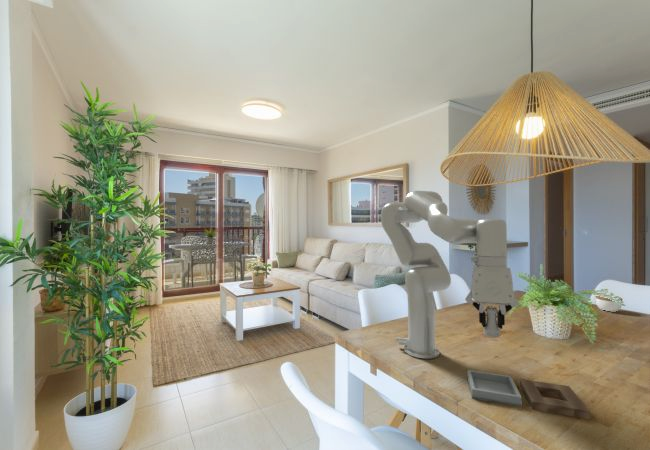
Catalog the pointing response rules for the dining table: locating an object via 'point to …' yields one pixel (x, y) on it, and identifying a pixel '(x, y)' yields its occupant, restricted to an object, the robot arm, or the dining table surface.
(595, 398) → the dining table surface
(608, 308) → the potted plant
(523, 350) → the dining table surface
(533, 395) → the socket block
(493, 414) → the dining table surface
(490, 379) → the tray
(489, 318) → the rook chess piece
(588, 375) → the dining table surface
